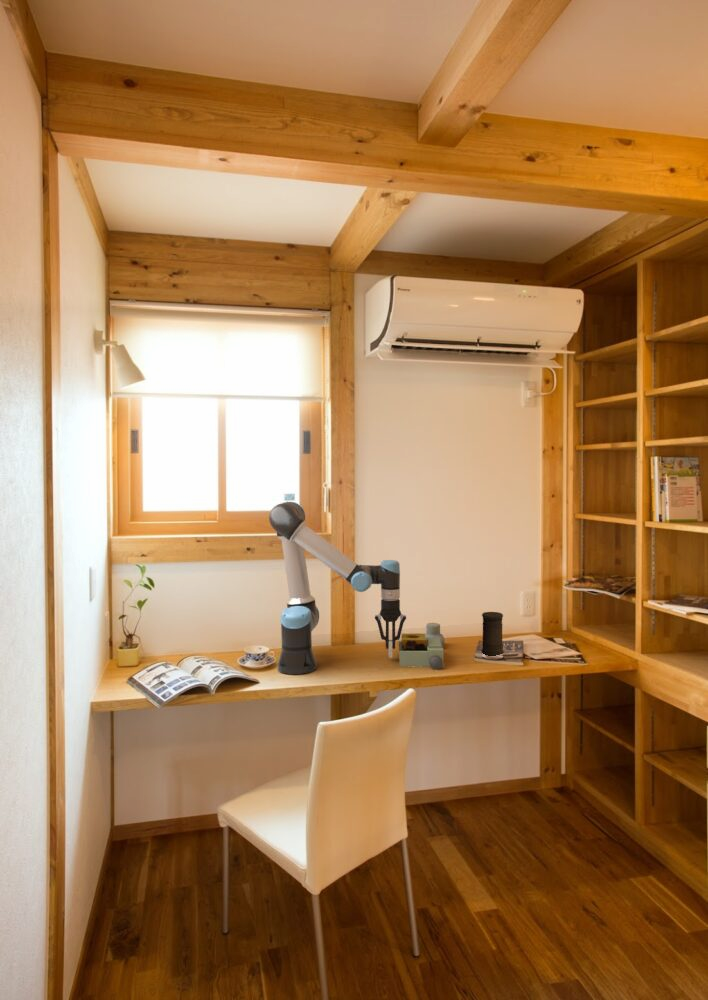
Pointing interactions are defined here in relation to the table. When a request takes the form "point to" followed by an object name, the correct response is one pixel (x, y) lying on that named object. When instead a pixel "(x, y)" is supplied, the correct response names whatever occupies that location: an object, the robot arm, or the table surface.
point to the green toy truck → (423, 655)
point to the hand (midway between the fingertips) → (390, 656)
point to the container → (492, 633)
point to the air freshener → (434, 632)
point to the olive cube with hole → (413, 642)
